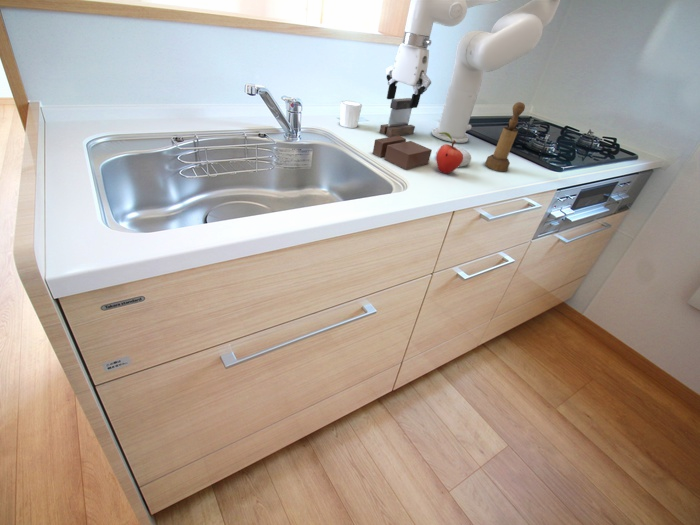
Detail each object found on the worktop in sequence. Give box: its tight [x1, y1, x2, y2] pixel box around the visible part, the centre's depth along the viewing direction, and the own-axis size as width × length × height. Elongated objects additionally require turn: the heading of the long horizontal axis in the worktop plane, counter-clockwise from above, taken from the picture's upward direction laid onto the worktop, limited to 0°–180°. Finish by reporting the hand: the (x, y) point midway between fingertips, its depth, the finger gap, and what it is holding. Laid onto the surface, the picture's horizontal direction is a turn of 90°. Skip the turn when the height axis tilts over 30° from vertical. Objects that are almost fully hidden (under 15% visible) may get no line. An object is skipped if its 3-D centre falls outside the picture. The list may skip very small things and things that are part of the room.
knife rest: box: [379, 123, 416, 138], centre depth 122 cm, size 12×5×2 cm, turn 133°
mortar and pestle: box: [484, 101, 526, 172], centre depth 102 cm, size 7×6×18 cm
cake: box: [384, 140, 433, 171], centre depth 100 cm, size 10×8×4 cm
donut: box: [435, 145, 472, 167], centre depth 105 cm, size 10×4×10 cm
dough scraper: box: [387, 97, 413, 128], centre depth 119 cm, size 10×2×11 cm, turn 133°
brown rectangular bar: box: [372, 136, 407, 158], centre depth 103 cm, size 10×3×4 cm, turn 133°
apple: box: [435, 132, 463, 174], centre depth 96 cm, size 8×7×10 cm
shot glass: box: [339, 100, 363, 129], centre depth 120 cm, size 7×7×7 cm
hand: (401, 103), depth 117 cm, fingers open, 9 cm apart
